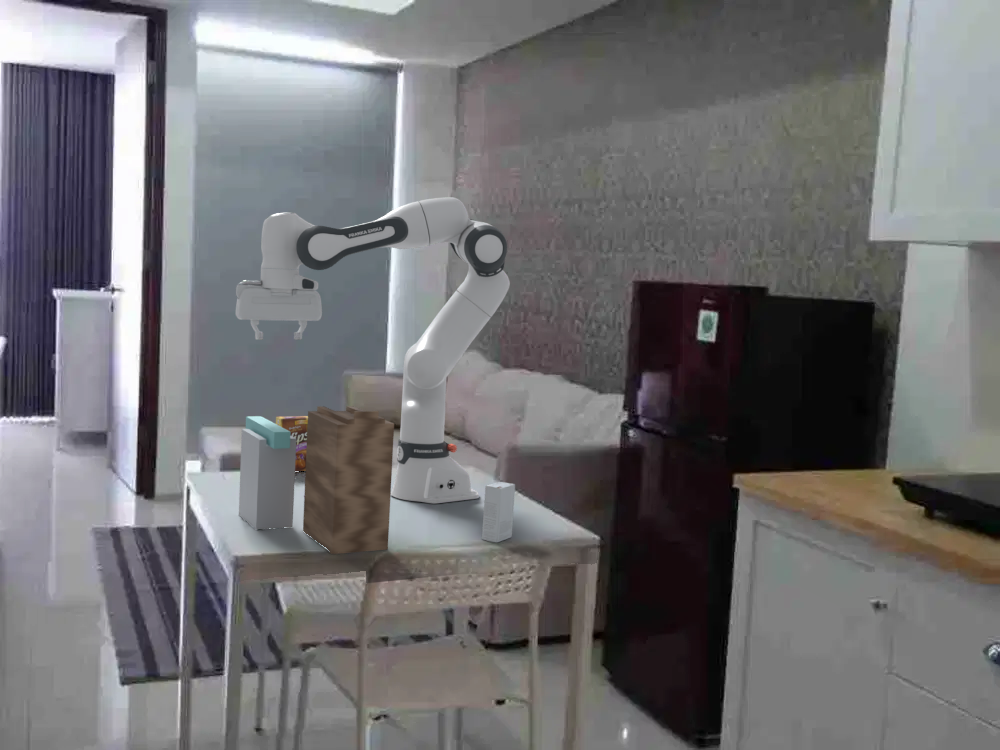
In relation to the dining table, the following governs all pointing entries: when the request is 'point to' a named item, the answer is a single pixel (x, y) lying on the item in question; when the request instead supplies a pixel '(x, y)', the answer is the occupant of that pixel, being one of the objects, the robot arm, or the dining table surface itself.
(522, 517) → the dining table surface
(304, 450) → the candy box
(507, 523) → the skincare box
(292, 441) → the rest block
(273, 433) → the rail
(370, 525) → the notched wooden block
